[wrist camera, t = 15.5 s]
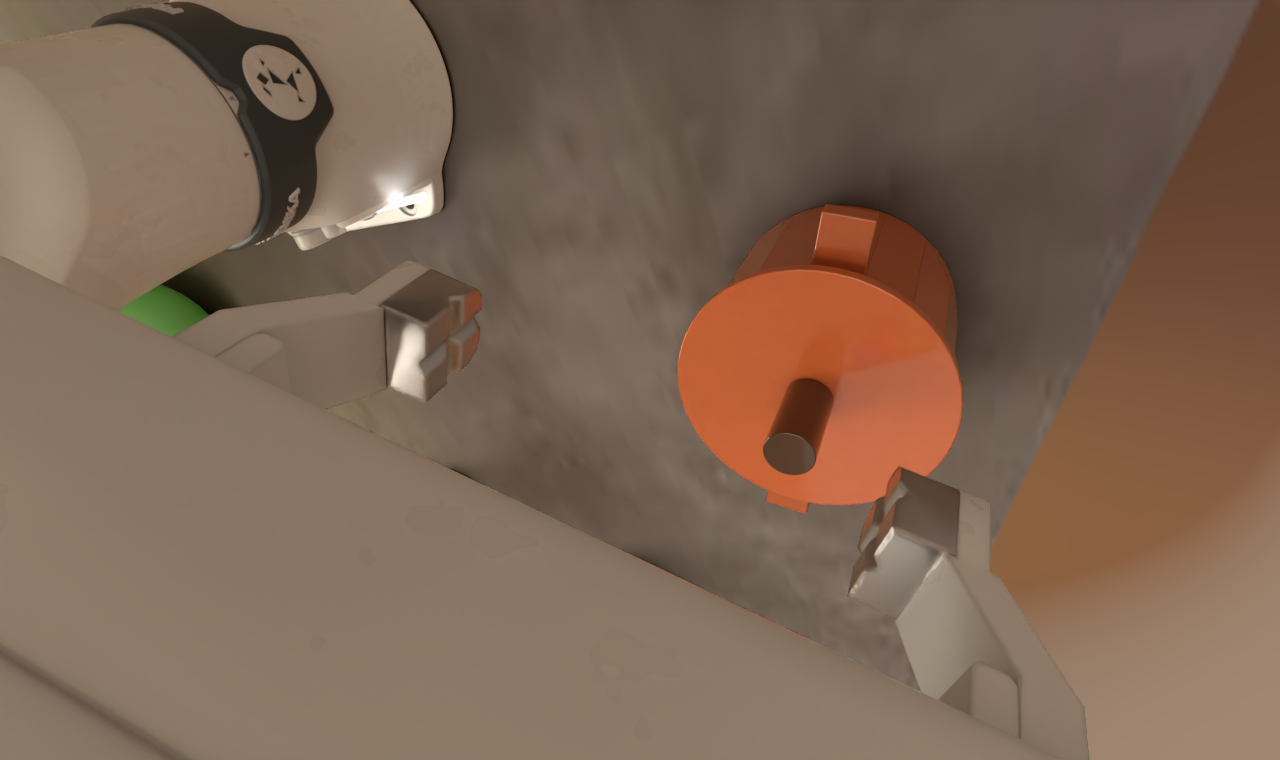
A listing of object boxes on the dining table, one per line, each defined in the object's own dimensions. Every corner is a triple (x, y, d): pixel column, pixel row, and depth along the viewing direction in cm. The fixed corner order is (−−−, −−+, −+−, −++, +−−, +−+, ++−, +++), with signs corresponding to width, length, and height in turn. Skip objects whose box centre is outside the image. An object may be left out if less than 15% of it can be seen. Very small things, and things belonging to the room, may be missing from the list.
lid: (676, 450, 42) (640, 515, 38) (695, 232, 34) (650, 285, 30) (920, 521, 39) (909, 603, 34) (1006, 294, 30) (1006, 365, 26)
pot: (723, 400, 50) (679, 484, 43) (756, 139, 39) (705, 195, 33) (912, 450, 46) (896, 551, 39) (1004, 177, 36) (1005, 251, 29)
